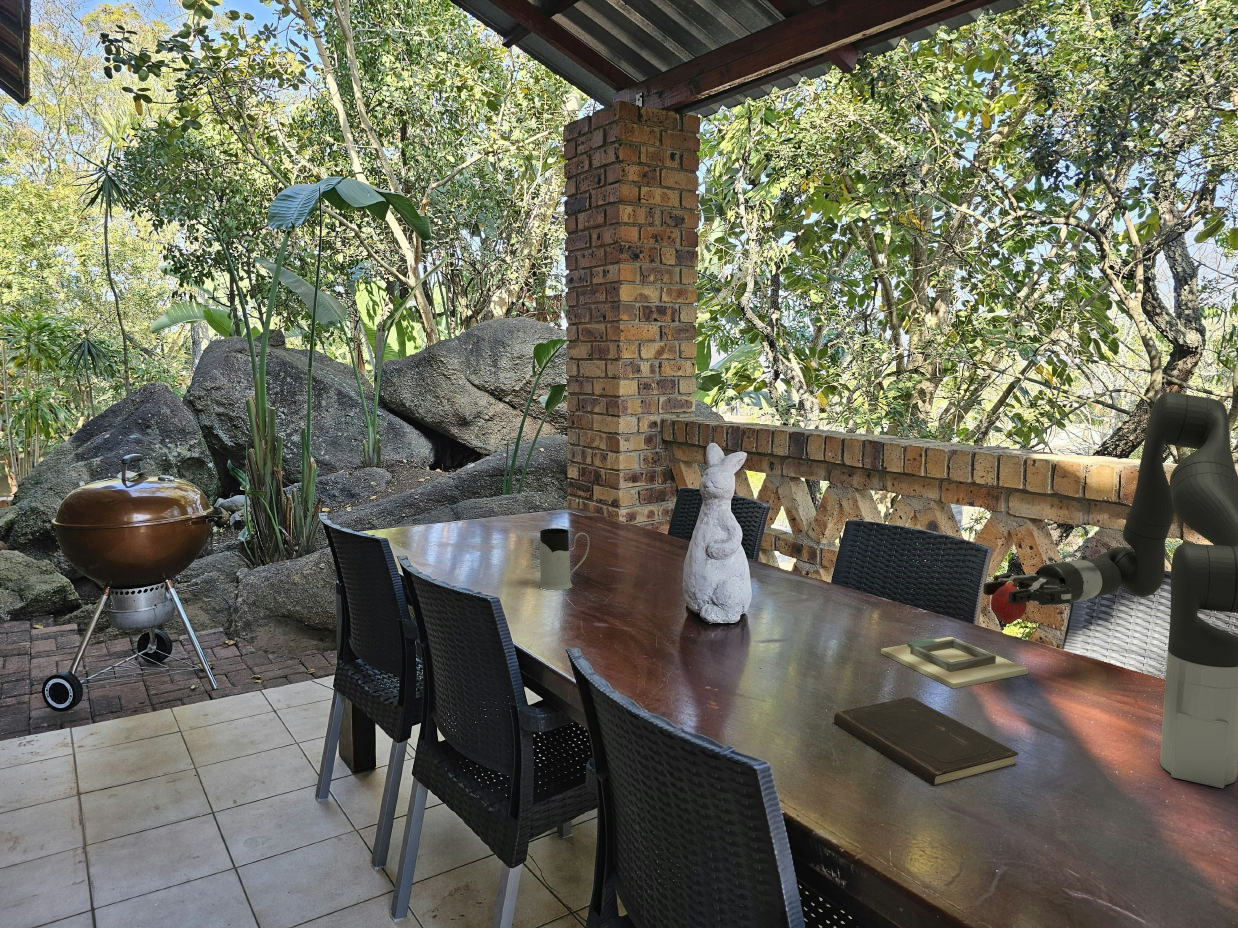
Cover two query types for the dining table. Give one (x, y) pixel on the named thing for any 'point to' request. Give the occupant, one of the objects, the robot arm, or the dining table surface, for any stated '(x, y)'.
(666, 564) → the dining table surface
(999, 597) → the onion
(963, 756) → the hardcover book
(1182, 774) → the robot arm
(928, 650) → the cradle board
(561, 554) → the glass holder
